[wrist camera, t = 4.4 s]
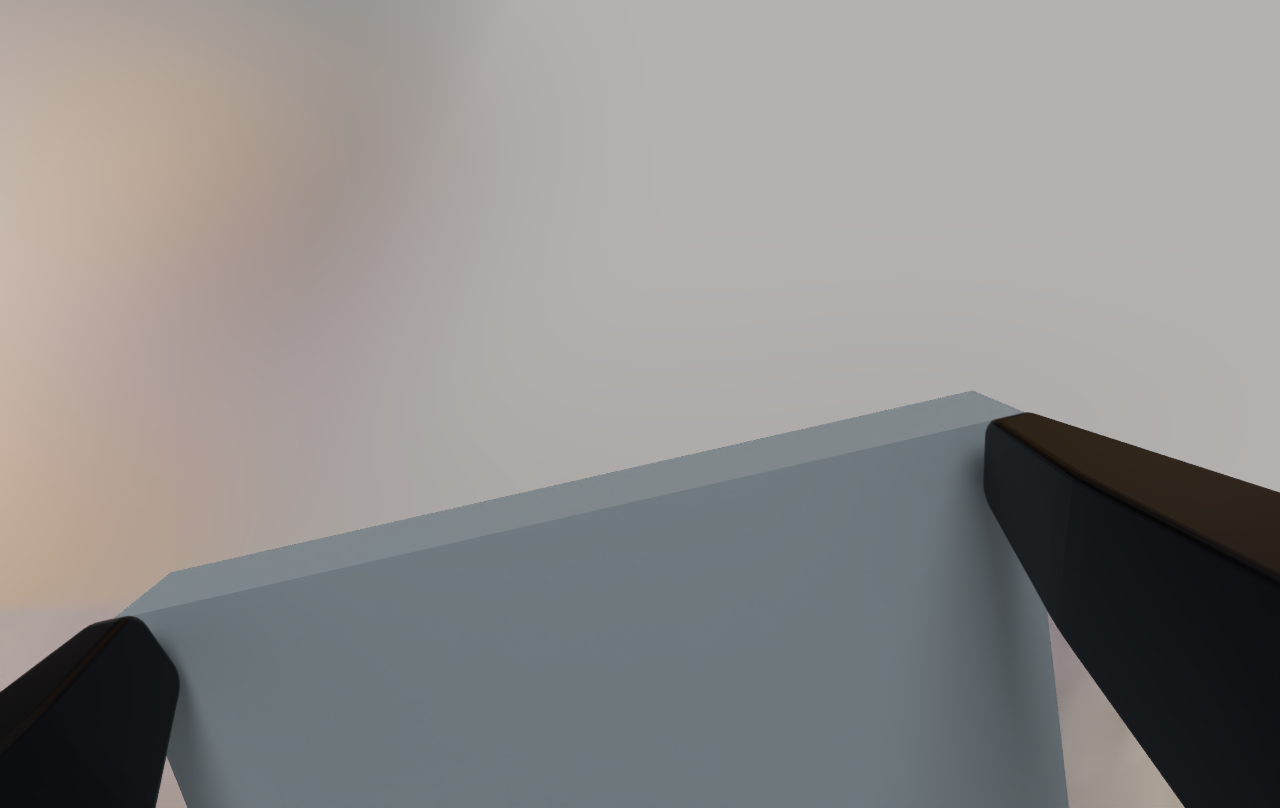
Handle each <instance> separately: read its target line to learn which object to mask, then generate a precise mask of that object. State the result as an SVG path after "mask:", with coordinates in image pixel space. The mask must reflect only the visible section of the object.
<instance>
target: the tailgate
mask: <svg viewBox="0 0 1280 808" xmlns="http://www.w3.org/2000/svg"><path fill="white" fill-rule="evenodd" d="M1020 413H1025V412H1022V411H1020V410H1017V409H1015V408H1013V407H1010V406H1008V405H1006V404H1003V403H1001V402H998V401H996V400H994V399H991V398H989V397H987V396H984V395H982V394H979V393H977V392H975V391H969V392H965V393H961V394H956V395H951V396H947V397H943V398H938V399H934V400H930V401H925V402H921V403H916V404H912V405H907V406H903V407H899V408H894V409H890V410H885V411H881V412H876V413H872V414H868V415H864V416H859V417H855V418H850V419H846V420H842V421H837V422H832V423H828V424H824V425H819V426H815V427H810V428H806V429H802V430H797V431H793V432H788V433H784V434H780V435H775V436H771V437H766V438H762V439H757V440H753V441H749V442H744V443H740V444H736V445H731V446H727V447H722V448H718V449H714V450H709V451H705V452H700V453H696V454H691V455H687V456H682V457H678V458H674V459H670V460H665V461H660V462H657V463H652V464H648V465H643V466H638V467H634V468H630V469H625V470H621V471H616V472H612V473H608V474H603V475H599V476H594V477H590V478H585V479H581V480H577V481H572V482H568V483H563V484H559V485H555V486H550V487H546V488H541V489H537V490H533V491H528V492H524V493H519V494H515V495H511V496H506V497H502V498H498V499H493V500H488V501H484V502H480V503H475V504H471V505H466V506H462V507H458V508H454V509H449V510H445V511H440V512H436V513H431V514H427V515H422V516H418V517H414V518H409V519H405V520H401V521H396V522H392V523H387V524H383V525H378V526H374V527H369V528H365V529H361V530H356V531H352V532H347V533H343V534H339V535H334V536H330V537H325V538H322V539H317V540H312V541H308V542H303V543H299V544H294V545H290V546H286V547H281V548H277V549H272V550H268V551H264V552H259V553H255V554H250V555H246V556H242V557H237V558H233V559H228V560H224V561H220V562H215V563H211V564H206V565H202V566H197V567H193V568H189V569H184V570H180V571H176V572H172V573H170V574H169V575H167V576H166V577H165V578H163V579H162V580H161V581H160V582H158V583H157V584H156V585H155V586H154V587H152V588H151V589H150V590H149V591H147V592H146V593H145V594H144V595H142V596H141V597H140V598H139V599H137V600H136V601H135V602H134V603H132V604H131V605H130V606H129V607H128V608H126V609H125V610H124V611H123V612H121V613H120V614H119V615H118V616H116V617H115V618H119V617H123V616H135V617H137V618H139V619H141V620H142V621H143V622H144V623H145V624H146V625H147V626H148V628H149V629H150V631H151V632H152V633H153V635H154V636H155V638H156V639H157V641H158V642H159V643H160V645H161V646H162V648H163V649H164V650H165V652H166V653H167V655H168V656H169V658H170V659H171V660H172V662H173V663H174V665H175V666H176V668H177V671H178V674H179V679H180V691H179V697H178V702H177V707H176V712H175V716H174V721H173V726H172V731H171V736H170V740H169V745H168V750H167V758H168V760H169V763H170V765H171V768H172V770H173V773H174V775H175V778H176V780H177V782H178V785H179V787H180V790H181V792H182V795H183V797H184V800H185V802H186V805H187V807H188V808H1069V806H1068V797H1067V788H1066V779H1065V769H1064V760H1063V751H1062V742H1061V733H1060V724H1059V715H1058V706H1057V697H1056V688H1055V679H1054V669H1053V660H1052V651H1051V642H1050V633H1049V624H1048V615H1047V609H1046V608H1045V606H1044V604H1043V603H1042V601H1041V599H1040V597H1039V595H1038V594H1037V592H1036V590H1035V588H1034V586H1033V585H1032V583H1031V581H1030V579H1029V577H1028V576H1027V574H1026V572H1025V570H1024V568H1023V567H1022V565H1021V563H1020V561H1019V559H1018V558H1017V556H1016V554H1015V552H1014V550H1013V549H1012V547H1011V545H1010V543H1009V541H1008V540H1007V538H1006V536H1005V534H1004V532H1003V531H1002V529H1001V527H1000V525H999V523H998V522H997V520H996V518H995V516H994V514H993V513H992V511H991V509H990V507H989V505H988V503H987V500H986V497H985V493H984V488H983V472H984V447H985V432H986V428H987V426H988V424H989V423H990V422H991V421H992V420H994V419H998V418H1002V417H1006V416H1011V415H1015V414H1020Z"/></svg>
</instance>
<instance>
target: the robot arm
mask: <svg viewBox="0 0 1280 808" xmlns="http://www.w3.org/2000/svg"><path fill="white" fill-rule="evenodd" d="M983 488H984V493H985V497H986V500H987V503H988V505H989V507H990V509H991V511H992V513H993V514H994V516H995V518H996V520H997V522H998V523H999V525H1000V527H1001V529H1002V531H1003V532H1004V534H1005V536H1006V538H1007V540H1008V541H1009V543H1010V545H1011V547H1012V549H1013V550H1014V552H1015V554H1016V556H1017V558H1018V559H1019V561H1020V563H1021V565H1022V567H1023V568H1024V570H1025V572H1026V574H1027V576H1028V577H1029V579H1030V581H1031V583H1032V585H1033V586H1034V588H1035V590H1036V592H1037V594H1038V595H1039V597H1040V599H1041V601H1042V603H1043V604H1044V606H1045V608H1046V609H1047V611H1048V613H1049V615H1050V616H1051V618H1052V620H1053V621H1054V623H1055V625H1056V626H1057V628H1058V629H1059V631H1060V632H1061V634H1062V635H1063V637H1064V638H1065V640H1066V641H1067V643H1068V644H1069V646H1070V647H1071V648H1072V650H1073V651H1074V653H1075V654H1076V655H1077V657H1078V658H1079V660H1080V661H1081V662H1082V664H1083V665H1084V667H1085V668H1086V670H1087V671H1088V672H1089V674H1090V675H1091V677H1092V678H1093V679H1094V681H1095V682H1096V684H1097V685H1098V686H1099V688H1100V689H1101V691H1102V692H1103V693H1104V695H1105V696H1106V698H1107V699H1108V700H1109V702H1110V703H1111V705H1112V706H1113V707H1114V709H1115V710H1116V712H1117V713H1118V714H1119V716H1120V717H1121V719H1122V720H1123V721H1124V723H1125V724H1126V726H1127V727H1128V728H1129V730H1130V731H1131V733H1132V734H1133V736H1134V737H1135V738H1136V740H1137V741H1138V743H1139V744H1140V745H1141V747H1142V748H1143V750H1144V751H1145V752H1146V754H1147V755H1148V757H1149V758H1150V759H1151V761H1152V762H1153V764H1154V765H1155V766H1156V768H1157V769H1158V771H1159V772H1160V773H1161V775H1162V776H1163V778H1164V779H1165V780H1166V782H1167V783H1168V785H1169V786H1170V787H1171V789H1172V790H1173V792H1174V793H1175V794H1176V796H1177V797H1178V799H1179V800H1180V802H1181V803H1182V804H1183V806H1184V807H1185V808H1280V492H1276V491H1273V490H1270V489H1267V488H1264V487H1261V486H1258V485H1254V484H1252V483H1248V482H1245V481H1242V480H1239V479H1236V478H1233V477H1229V476H1227V475H1224V474H1220V473H1217V472H1214V471H1211V470H1208V469H1205V468H1202V467H1199V466H1196V465H1193V464H1189V463H1186V462H1183V461H1180V460H1177V459H1174V458H1171V457H1168V456H1165V455H1161V454H1158V453H1155V452H1152V451H1149V450H1146V449H1143V448H1140V447H1137V446H1133V445H1130V444H1127V443H1124V442H1121V441H1118V440H1115V439H1111V438H1109V437H1106V436H1102V435H1099V434H1096V433H1093V432H1090V431H1087V430H1084V429H1081V428H1078V427H1074V426H1071V425H1068V424H1065V423H1062V422H1059V421H1056V420H1053V419H1050V418H1046V417H1043V416H1040V415H1037V414H1034V413H1028V412H1027V413H1026V412H1025V413H1020V414H1015V415H1011V416H1006V417H1002V418H998V419H994V420H992V421H991V422H990V423H989V424H988V426H987V428H986V432H985V447H984V472H983ZM179 691H180V679H179V674H178V671H177V668H176V666H175V665H174V663H173V662H172V660H171V659H170V658H169V656H168V655H167V653H166V652H165V650H164V649H163V648H162V646H161V645H160V643H159V642H158V641H157V639H156V638H155V636H154V635H153V633H152V632H151V631H150V629H149V628H148V626H147V625H146V624H145V623H144V622H143V621H142V620H141V619H139V618H137V617H135V616H123V617H119V618H114V619H110V620H105V621H101V622H97V623H94V624H92V625H89V626H88V627H86V628H84V629H83V630H82V631H80V632H79V633H78V634H76V635H75V636H74V637H73V638H71V639H70V640H69V641H67V642H66V643H65V644H63V645H62V646H61V647H59V648H58V649H57V650H55V651H54V652H53V653H51V654H50V655H49V656H47V657H46V658H45V659H43V660H42V661H41V662H39V663H38V664H37V665H35V666H34V667H33V668H31V669H30V670H29V671H27V672H26V673H25V674H23V675H22V676H21V677H19V678H18V679H17V680H16V681H14V682H13V683H12V684H10V685H9V686H8V687H6V688H5V689H4V690H2V691H1V692H0V808H156V803H157V798H158V793H159V789H160V784H161V779H162V774H163V769H164V765H165V760H166V755H167V750H168V745H169V740H170V736H171V731H172V726H173V721H174V716H175V712H176V707H177V702H178V697H179Z"/></svg>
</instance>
